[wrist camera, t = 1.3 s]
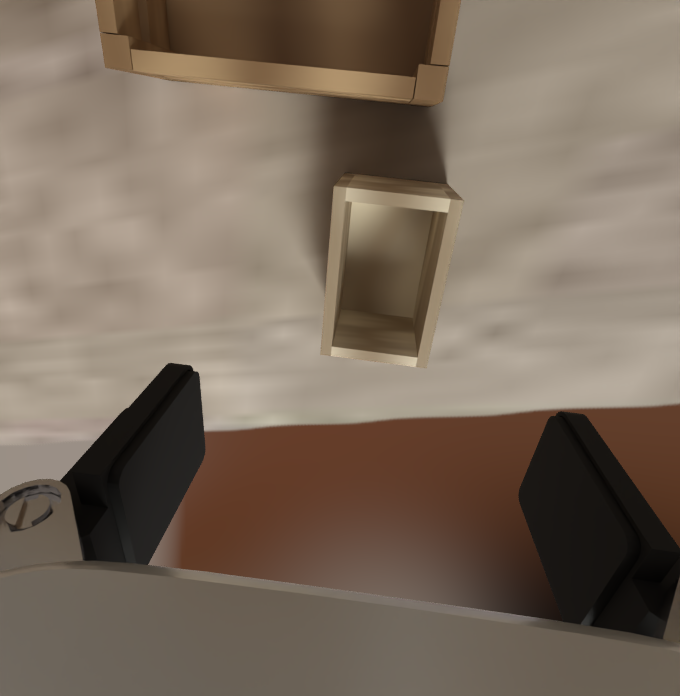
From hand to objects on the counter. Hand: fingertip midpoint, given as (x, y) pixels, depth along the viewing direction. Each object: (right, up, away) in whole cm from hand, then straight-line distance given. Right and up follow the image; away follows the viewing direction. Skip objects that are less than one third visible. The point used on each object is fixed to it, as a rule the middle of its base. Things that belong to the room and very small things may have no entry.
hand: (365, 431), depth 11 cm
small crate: (+2, +8, +15) cm, 18 cm away
